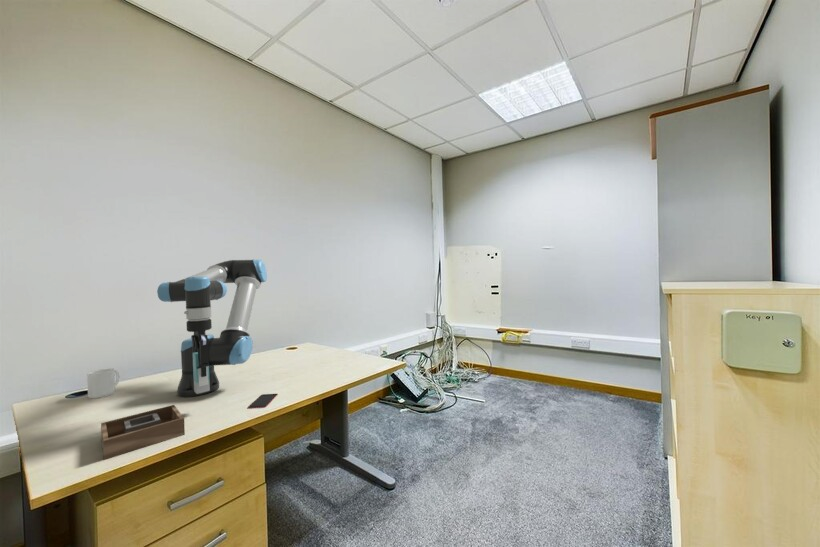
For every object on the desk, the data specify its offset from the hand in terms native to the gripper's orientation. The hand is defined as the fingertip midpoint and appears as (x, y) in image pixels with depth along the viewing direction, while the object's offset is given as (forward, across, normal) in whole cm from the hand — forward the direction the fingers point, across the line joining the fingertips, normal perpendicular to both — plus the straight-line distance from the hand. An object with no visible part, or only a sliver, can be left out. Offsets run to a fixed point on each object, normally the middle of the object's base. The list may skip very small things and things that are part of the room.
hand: (201, 383), depth 116 cm
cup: (+11, -55, -24) cm, 61 cm away
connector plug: (+3, 0, 0) cm, 3 cm away
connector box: (+10, +9, -18) cm, 22 cm away
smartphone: (+11, +8, +18) cm, 23 cm away
